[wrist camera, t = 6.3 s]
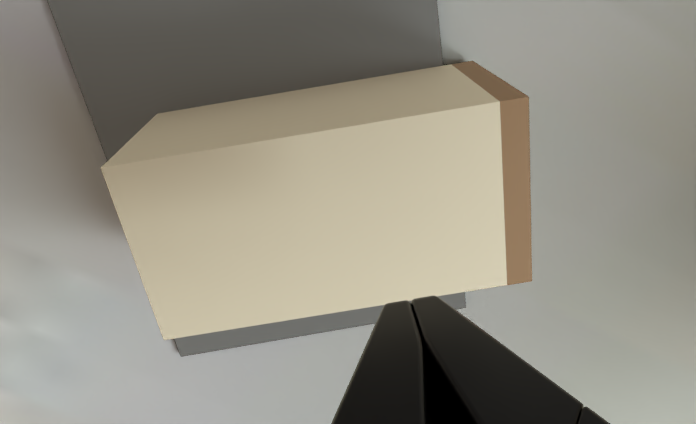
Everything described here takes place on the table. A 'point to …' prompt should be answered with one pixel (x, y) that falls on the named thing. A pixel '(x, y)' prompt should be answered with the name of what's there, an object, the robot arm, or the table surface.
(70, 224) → the table surface
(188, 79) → the grey rubber mat
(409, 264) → the cream block
